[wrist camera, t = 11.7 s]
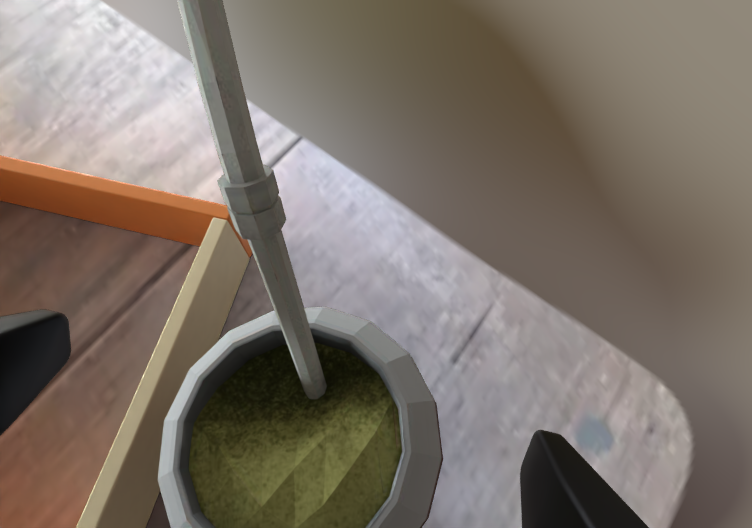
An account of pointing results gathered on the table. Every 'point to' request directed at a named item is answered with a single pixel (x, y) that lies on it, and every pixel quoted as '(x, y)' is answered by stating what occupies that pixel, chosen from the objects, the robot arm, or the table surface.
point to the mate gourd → (289, 372)
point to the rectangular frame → (182, 331)
